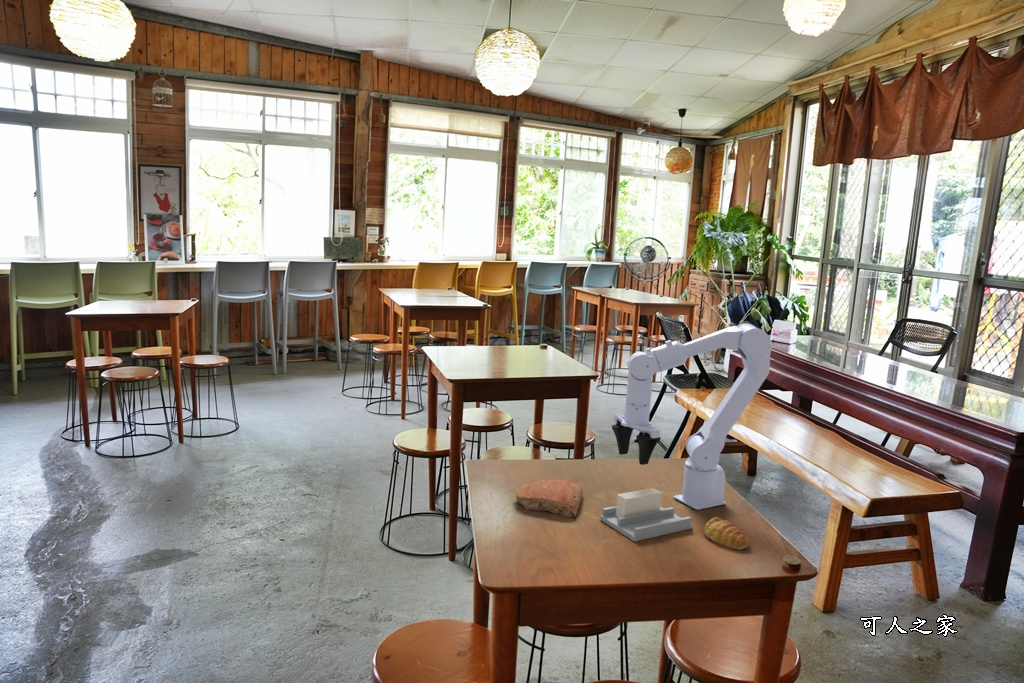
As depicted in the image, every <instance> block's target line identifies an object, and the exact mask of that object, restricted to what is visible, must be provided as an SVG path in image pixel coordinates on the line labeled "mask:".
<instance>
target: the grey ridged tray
mask: <svg viewBox="0 0 1024 683" xmlns="http://www.w3.org/2000/svg"><path fill="white" fill-rule="evenodd" d="M674 511H675V508H674V507H673V506H671V507H670V506H669V507H666V508H664V507H662V506H660V510H655V511H650V512H645V513H640V514H635V515H630V516H625V517H620V518H618V517H616V505H614V506H609V507H603V508H602V514H601V515H600V517H599V518H600V519H599V520H600V521H602V522H603V523H605V524H607V525H608V526H610V527H611V528H613V529H614V530H616V531H617V532H618V533H620V534H622V535H623V536H625V537H627V538H628V539H629V540H631V541H633V542H639V541H643V540H646V539H651V538H656V537H660V535H661V536H663V535H664V536H665V535H669V534H674V533H677V532H682V531H687V530H691V529H693V523H692V517H691V516H685V517H681V516H678V515H677V514H675V513H674Z"/></svg>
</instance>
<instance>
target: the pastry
mask: <svg viewBox="0 0 1024 683" xmlns="http://www.w3.org/2000/svg"><path fill="white" fill-rule="evenodd" d="M703 533H704V535H706V538H707V539H710V540H711V541H712V542H714V543H716V544H719V545H720V546H723V545H724V547H726V546H727V547H726V548H729V547H730V548H729V549H732V548H733V549H735V550H738V551H739V550H740V551H741V550H743V549H746V548H748V546H749V544H750V539H749V538H748V536H747V534H746V533H745V532H743V529H741V528H739V527H738V526H737V525H736V524H735V523H732V522H731V521H729V520H723V519H722V518H721V517H717V516H714V517H712V518H711V519H710V520H708V521H707V522H706V524H705V526H704V527H703Z"/></svg>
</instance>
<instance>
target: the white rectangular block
mask: <svg viewBox="0 0 1024 683" xmlns="http://www.w3.org/2000/svg"><path fill="white" fill-rule="evenodd" d="M662 495H663V494H662V492H661V491H659V490H657V489H655V488H653V487H651V488H650V487H649V488H645V489H640V490H634V491H629V492H623V493H618V494H616V505H615V506H616V517H618V518H620V517H625V516H630V515H635V514H640V513H645V512H650V511H655V510H660V507H661V503H662Z"/></svg>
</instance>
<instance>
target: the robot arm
mask: <svg viewBox="0 0 1024 683" xmlns="http://www.w3.org/2000/svg"><path fill="white" fill-rule="evenodd" d="M664 343H665V344H662V345H659V346H657V347H654V348H650V347H647V348H645V351H636V352H634V353H632V354H631V356H629V357H628V360H627V365H626V366H627V369H628V370H629V372H628V376H627V383H626V393H625V394H626V395H625V406H624V407H625V408H624V413H620V412H619V413H614V415H613V422H614V423H615V424H611V429H612V431H613V433H614V435H615V440H616V443H617V448H618V450H617V451H618V454H619V455H620V456H622V455H627V454H628V453H629V450H630V442H631V436H632V434H633V431H634V430H636V431H638V432H640V433H642V434H638V435H636V440H637V444H638V452H639V453H638V463H639V465H643V466H644V465H649V461H650V459H651V457H652V454H653V452H654V450H655V448H656V446H657V445H658V443H659V442H660V441H661V435H660V434H661V429H660V428H658V427H656V426H655V425H654V424H652V423H651V422H650V412H651V400H652V389H653V386H652V378H653V377H654V375H655V373H662V372H664V371H667V370H668V371H669V370H671V369H674V368H677V367H679V366H682V365H685V364H686V362H687V359H688V358H690V357H693V356H694V357H695V356H697V355H701V354H704V353H708V352H711V351H714V350H718V349H722V348H723V349H727V350H731V351H735V352H739V354H740V357H741V361H742V364H743V369H742V370H741V372H740V374H739V375H738V377H737V378H736V380H735V381H734V382H733V384H732V386H731V387H730V388H729V390H728V391H727V393H726V395H725V396H724V397H723V399H722V401H721V402H720V403H719V405H718V406H717V408H716V410H715V411H714V412H713V414H712V415H711V417H710V418H709V420H708V421H707V422H706V423H705V424H704V425H702V426H701V427H700V428H699V429H698V430H697V432H696V433H693V434H692V435H690V436H689V437H688V438H687V440H686V442H685V449H686V452H687V454H688V455H689V456H688V457H687V459H686V460H685V462H684V472H683V484H682V492H681V494H677V495H674V496H673V498H674V499H675V500H677V501H679V502H680V503H683V504H685V505H687V506H688V507H690V508H692V509H695V510H697V511H698V510H699V511H700V510H703V509H708V508H713V507H717V506H722V505H726V503H727V501H725V500H724V496H725V488H726V486H725V485H726V473H725V470H724V469H723V467H722V466H721V465H719V462H720V457H721V456H720V455H721V452H722V451H723V450H724V447H725V444H726V443H725V442H726V438H727V436H728V434H729V433H730V431H731V430H732V429H733V427H734V426H735V424H736V423H737V421H738V420H739V419H740V417H741V416H742V414H743V413H744V411H745V410H746V408H747V407H748V405H749V404H750V402H751V401H752V400H753V398H754V397H755V395H756V394H757V392H758V391H759V389H760V388H761V386H762V385H763V383H764V382H765V380H766V379H767V377H768V376H769V374H770V371H771V370H770V367H771V352H772V350H773V345H772V342H771V340H770V337H769V335H768V333H767V332H766V331H764V330H763V329H761V328H759V327H756V326H755V325H754V324H752V323H748V322H747V323H746V322H745V323H740V324H739V325H733V326H728V327H726V328H723V329H719V330H718V331H714V332H712V333H710V334H706V335H704V336H702V337H699V338H696V339H694V340H690V341H688V342H685V343H682V342H680V341H678V340H674V341H672V340H670V339H669V340H666V341H664Z"/></svg>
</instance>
